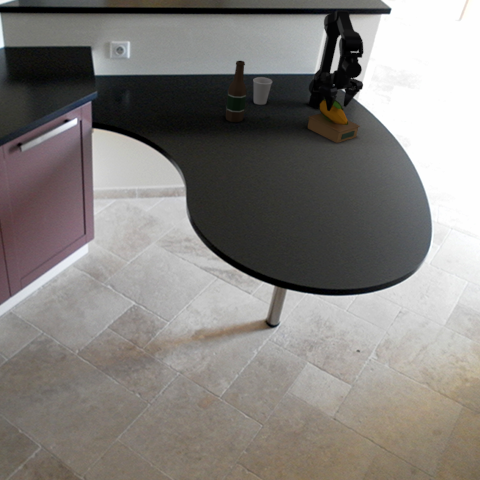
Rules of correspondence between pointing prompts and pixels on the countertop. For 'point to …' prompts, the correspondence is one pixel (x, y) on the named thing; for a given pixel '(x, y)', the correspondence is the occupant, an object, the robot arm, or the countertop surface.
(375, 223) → the countertop surface
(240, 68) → the beer bottle
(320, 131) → the takeaway box
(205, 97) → the countertop surface
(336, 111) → the corn
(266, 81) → the dixie cup
